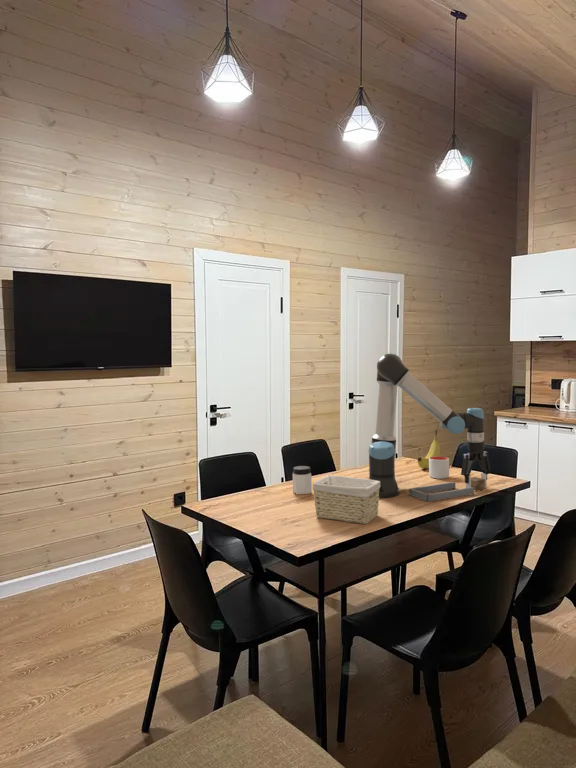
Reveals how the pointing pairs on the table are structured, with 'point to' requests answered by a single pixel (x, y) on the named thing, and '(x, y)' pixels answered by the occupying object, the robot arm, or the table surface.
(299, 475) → the jar
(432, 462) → the cup
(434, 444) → the banana
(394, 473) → the robot arm
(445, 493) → the trough
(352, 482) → the storage basket
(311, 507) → the table surface
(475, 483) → the walnut block
